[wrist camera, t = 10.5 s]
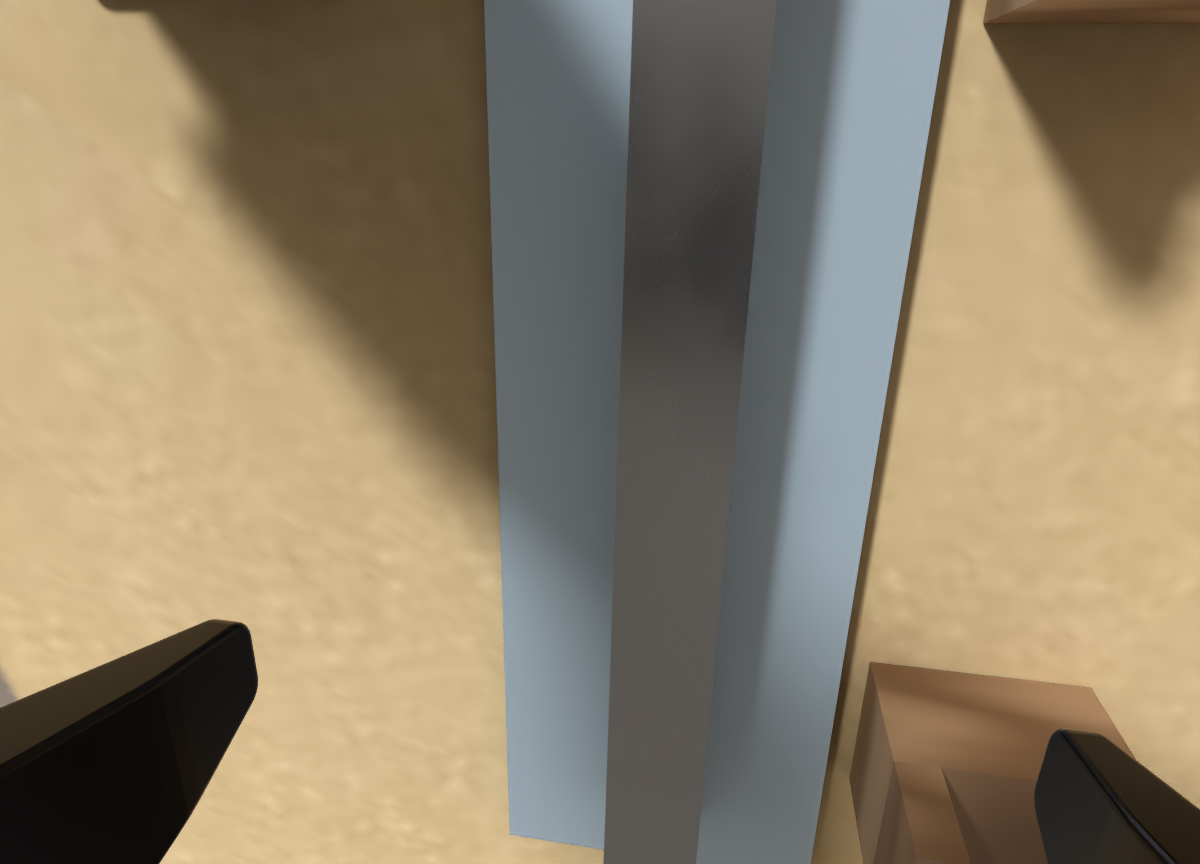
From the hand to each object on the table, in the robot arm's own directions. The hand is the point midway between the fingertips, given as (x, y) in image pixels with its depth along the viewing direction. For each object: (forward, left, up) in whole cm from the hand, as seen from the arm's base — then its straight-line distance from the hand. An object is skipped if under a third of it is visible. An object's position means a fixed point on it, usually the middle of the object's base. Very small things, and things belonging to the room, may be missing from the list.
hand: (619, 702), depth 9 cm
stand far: (+8, -9, -11) cm, 16 cm away
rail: (0, 0, -10) cm, 10 cm away
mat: (0, 0, -11) cm, 11 cm away
